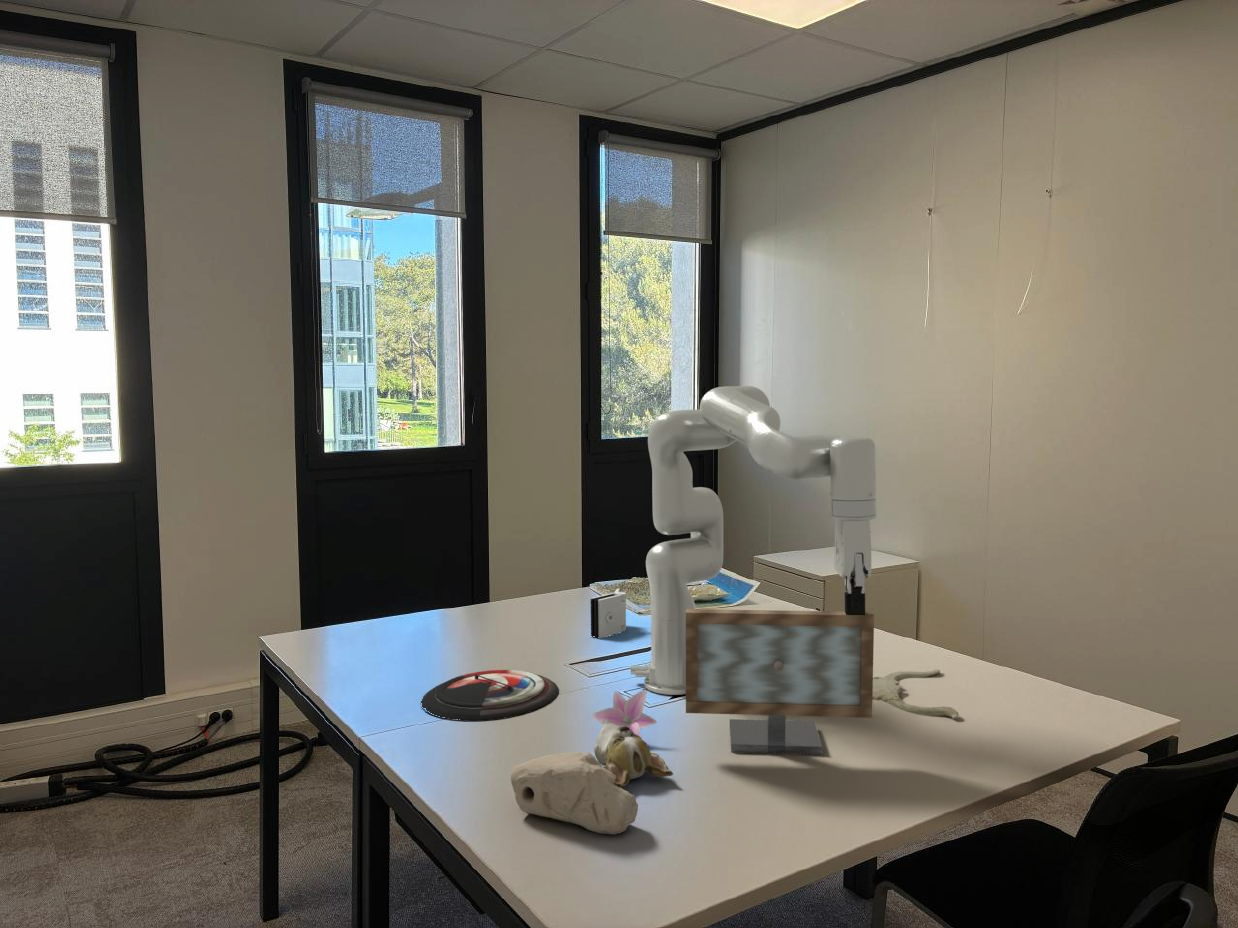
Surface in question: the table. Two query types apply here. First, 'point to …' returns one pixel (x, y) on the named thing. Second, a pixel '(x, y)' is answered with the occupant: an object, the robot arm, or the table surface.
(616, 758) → the ceramic sculpture
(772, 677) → the picture frame
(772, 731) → the frame stand
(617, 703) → the lily
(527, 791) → the decorative stone
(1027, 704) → the table surface
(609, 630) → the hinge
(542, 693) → the wall clock
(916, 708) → the decorative wall piece
